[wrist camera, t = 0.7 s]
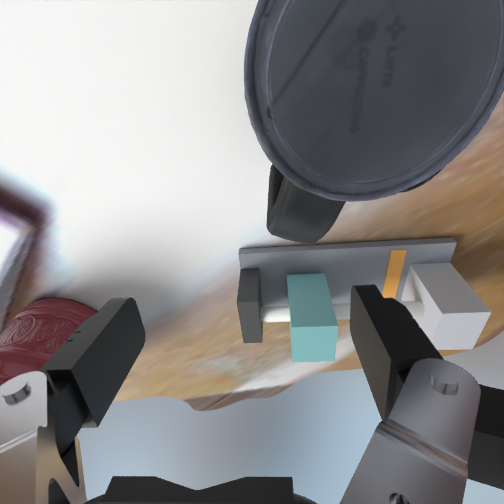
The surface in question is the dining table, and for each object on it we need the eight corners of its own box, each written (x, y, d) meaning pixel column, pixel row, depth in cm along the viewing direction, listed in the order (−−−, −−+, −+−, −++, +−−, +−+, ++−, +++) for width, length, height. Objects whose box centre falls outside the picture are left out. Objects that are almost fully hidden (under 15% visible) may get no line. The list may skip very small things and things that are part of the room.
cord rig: (239, 248, 32) (232, 300, 26) (452, 237, 30) (502, 290, 24) (248, 313, 38) (244, 369, 31) (428, 306, 36) (464, 365, 29)
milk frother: (251, -16, 20) (226, -110, 8) (498, -39, 19) (918, -190, 7) (261, 184, 28) (256, 291, 16) (434, 177, 27) (571, 285, 15)
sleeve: (287, 274, 32) (291, 327, 26) (324, 273, 31) (338, 325, 26) (288, 308, 35) (292, 362, 29) (322, 306, 34) (334, 361, 28)
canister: (88, 288, 37) (-28, 446, 22) (135, 352, 44) (70, 504, 29) (1, 302, 39) (-157, 455, 24) (59, 361, 46) (-37, 507, 32)
